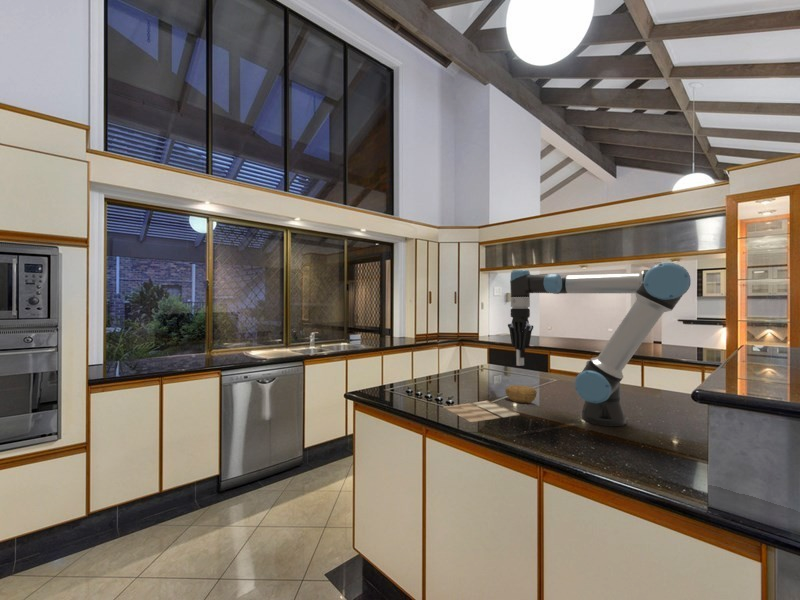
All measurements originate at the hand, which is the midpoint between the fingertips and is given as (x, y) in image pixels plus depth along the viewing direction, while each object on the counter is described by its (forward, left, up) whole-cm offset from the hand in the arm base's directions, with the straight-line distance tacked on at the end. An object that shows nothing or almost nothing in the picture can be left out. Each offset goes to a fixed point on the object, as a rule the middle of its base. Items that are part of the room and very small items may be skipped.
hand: (520, 365), depth 152 cm
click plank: (+8, +7, -20) cm, 23 cm away
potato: (+14, -12, -21) cm, 28 cm away
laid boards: (+8, +19, -20) cm, 29 cm away
